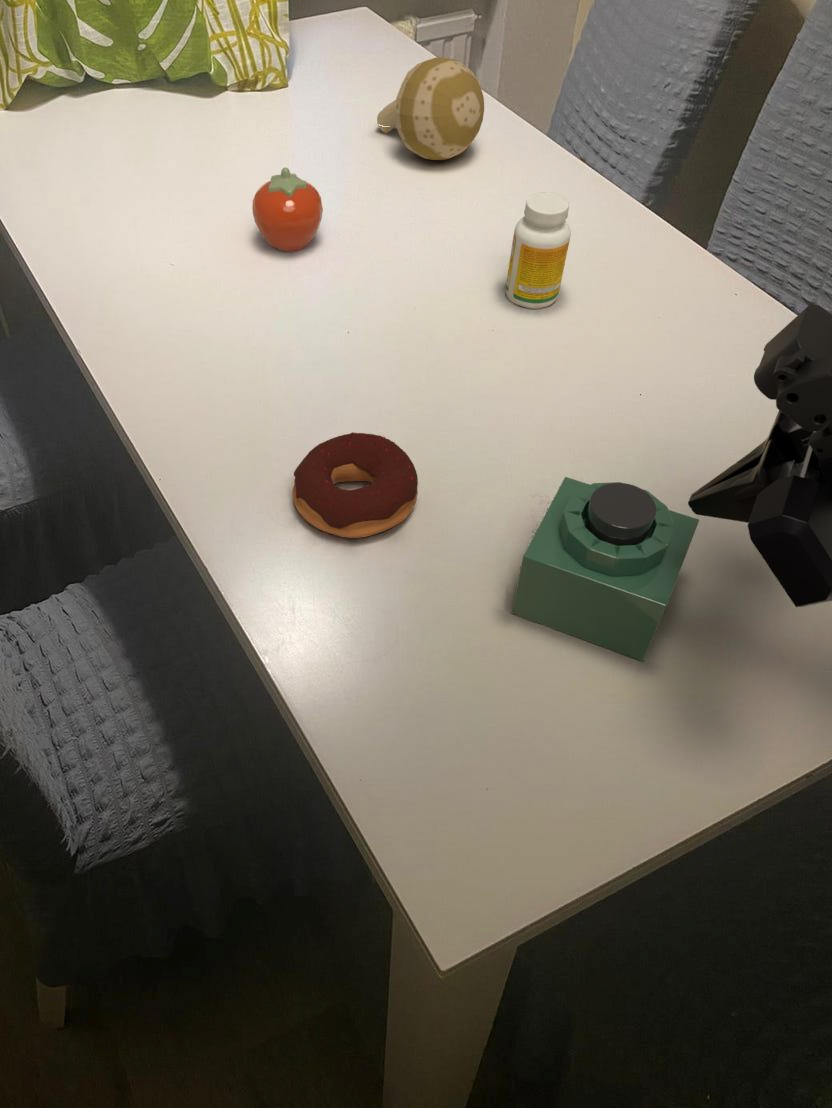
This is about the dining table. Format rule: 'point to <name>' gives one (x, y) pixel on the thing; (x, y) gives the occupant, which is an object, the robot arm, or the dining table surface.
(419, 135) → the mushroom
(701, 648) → the dining table surface
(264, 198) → the tomato
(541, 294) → the supplement bottle
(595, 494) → the dark round knob
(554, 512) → the button base
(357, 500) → the donut
